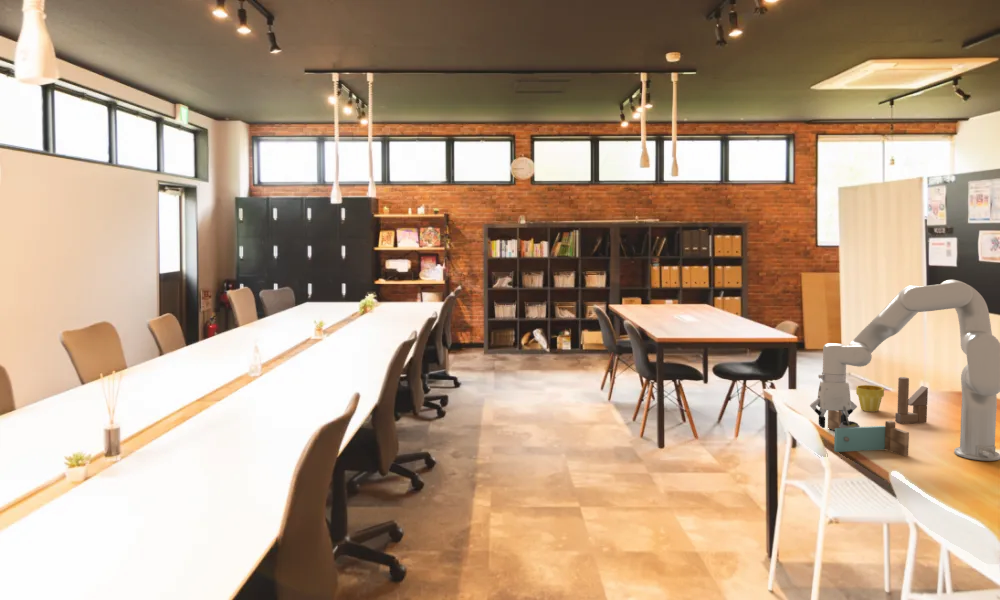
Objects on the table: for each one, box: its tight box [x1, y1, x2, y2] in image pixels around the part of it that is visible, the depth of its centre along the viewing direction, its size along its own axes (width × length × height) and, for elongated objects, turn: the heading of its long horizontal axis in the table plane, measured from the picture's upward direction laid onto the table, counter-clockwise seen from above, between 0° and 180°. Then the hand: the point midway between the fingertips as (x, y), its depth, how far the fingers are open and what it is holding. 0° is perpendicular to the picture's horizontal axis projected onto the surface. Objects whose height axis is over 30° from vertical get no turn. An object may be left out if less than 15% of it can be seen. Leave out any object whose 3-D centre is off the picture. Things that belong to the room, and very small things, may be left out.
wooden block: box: [894, 376, 929, 424], centre depth 271 cm, size 4×11×18 cm, turn 93°
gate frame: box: [827, 410, 910, 457], centre depth 247 cm, size 36×2×10 cm, turn 15°
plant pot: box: [855, 384, 885, 413], centre depth 292 cm, size 10×10×10 cm
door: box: [833, 425, 885, 453], centre depth 236 cm, size 18×2×8 cm, turn 96°
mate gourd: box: [839, 406, 861, 428], centre depth 241 cm, size 8×8×15 cm
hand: (832, 426), depth 246 cm, fingers open, 6 cm apart
